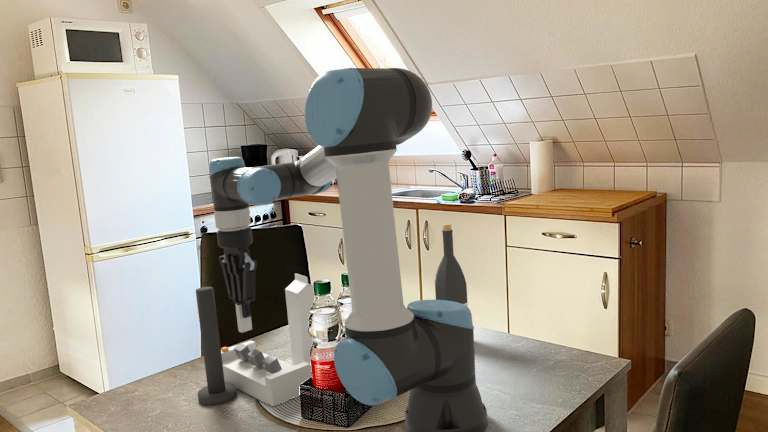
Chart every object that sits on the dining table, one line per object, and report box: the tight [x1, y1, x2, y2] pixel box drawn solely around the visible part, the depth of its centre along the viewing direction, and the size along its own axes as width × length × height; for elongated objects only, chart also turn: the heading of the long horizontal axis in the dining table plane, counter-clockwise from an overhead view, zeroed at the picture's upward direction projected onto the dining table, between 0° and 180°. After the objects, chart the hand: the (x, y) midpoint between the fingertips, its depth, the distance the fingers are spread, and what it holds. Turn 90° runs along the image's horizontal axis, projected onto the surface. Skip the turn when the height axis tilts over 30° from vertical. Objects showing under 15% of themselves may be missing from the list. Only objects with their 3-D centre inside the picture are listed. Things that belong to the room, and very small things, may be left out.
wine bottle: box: [434, 223, 469, 308], centre depth 156 cm, size 8×8×30 cm
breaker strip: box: [221, 340, 312, 407], centre depth 142 cm, size 24×10×7 cm, turn 43°
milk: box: [284, 273, 314, 367], centre depth 150 cm, size 6×6×22 cm
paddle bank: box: [234, 342, 282, 374], centre depth 141 cm, size 18×2×4 cm, turn 43°
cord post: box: [195, 286, 238, 407], centre depth 136 cm, size 8×8×24 cm
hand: (245, 330), depth 145 cm, fingers closed
